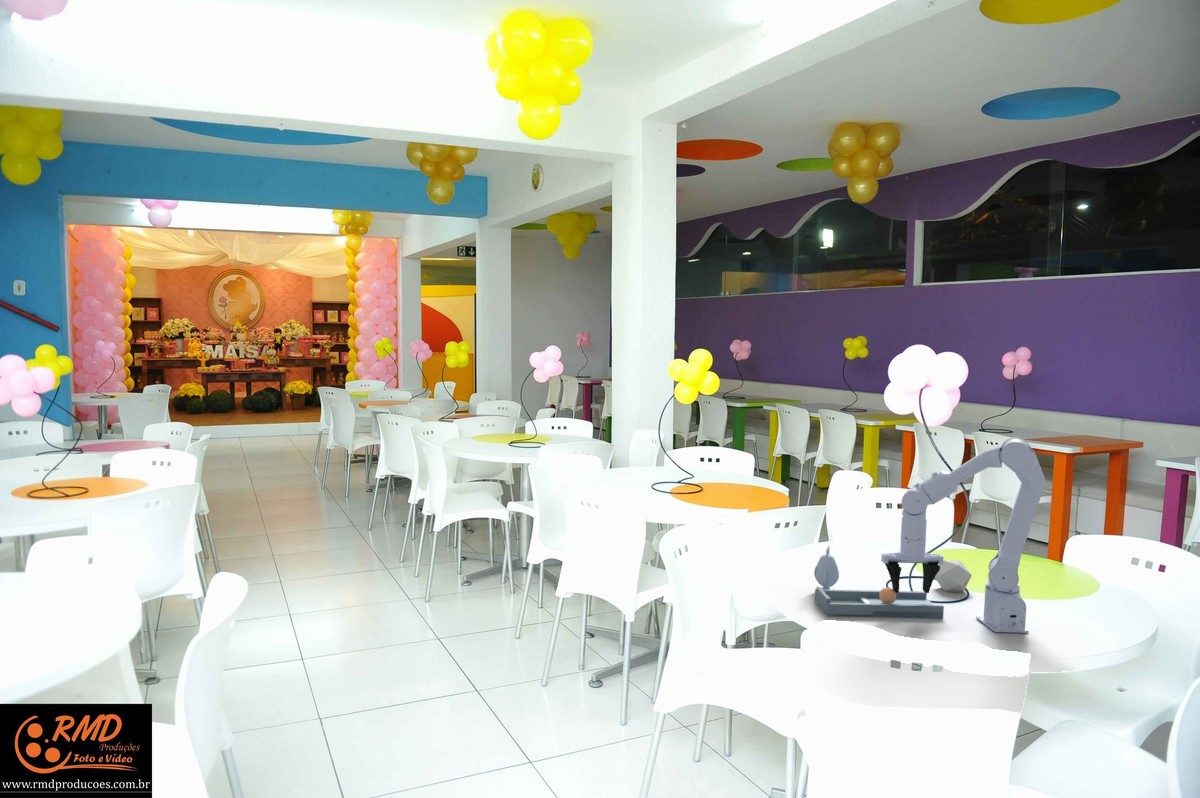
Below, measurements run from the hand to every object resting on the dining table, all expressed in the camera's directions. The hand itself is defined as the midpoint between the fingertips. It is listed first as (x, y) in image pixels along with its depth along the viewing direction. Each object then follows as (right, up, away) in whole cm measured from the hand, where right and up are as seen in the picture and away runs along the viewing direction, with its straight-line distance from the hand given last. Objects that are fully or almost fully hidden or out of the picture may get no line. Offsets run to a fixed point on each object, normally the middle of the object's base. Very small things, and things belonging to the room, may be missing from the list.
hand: (910, 591), depth 198 cm
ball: (-6, -1, 0) cm, 6 cm away
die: (+18, -4, +17) cm, 25 cm away
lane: (-8, -5, 0) cm, 9 cm away
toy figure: (-17, -3, +13) cm, 22 cm away
